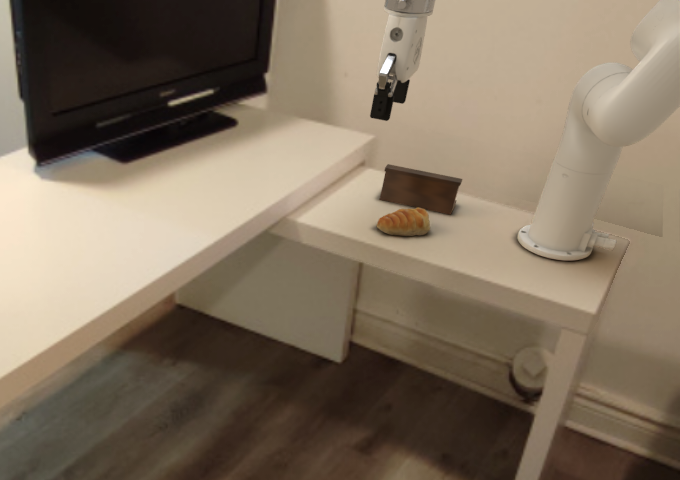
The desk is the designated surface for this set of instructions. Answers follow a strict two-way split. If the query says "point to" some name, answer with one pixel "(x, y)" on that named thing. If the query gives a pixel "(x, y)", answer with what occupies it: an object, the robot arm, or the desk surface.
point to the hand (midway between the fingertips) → (387, 110)
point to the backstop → (420, 189)
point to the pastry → (405, 222)
